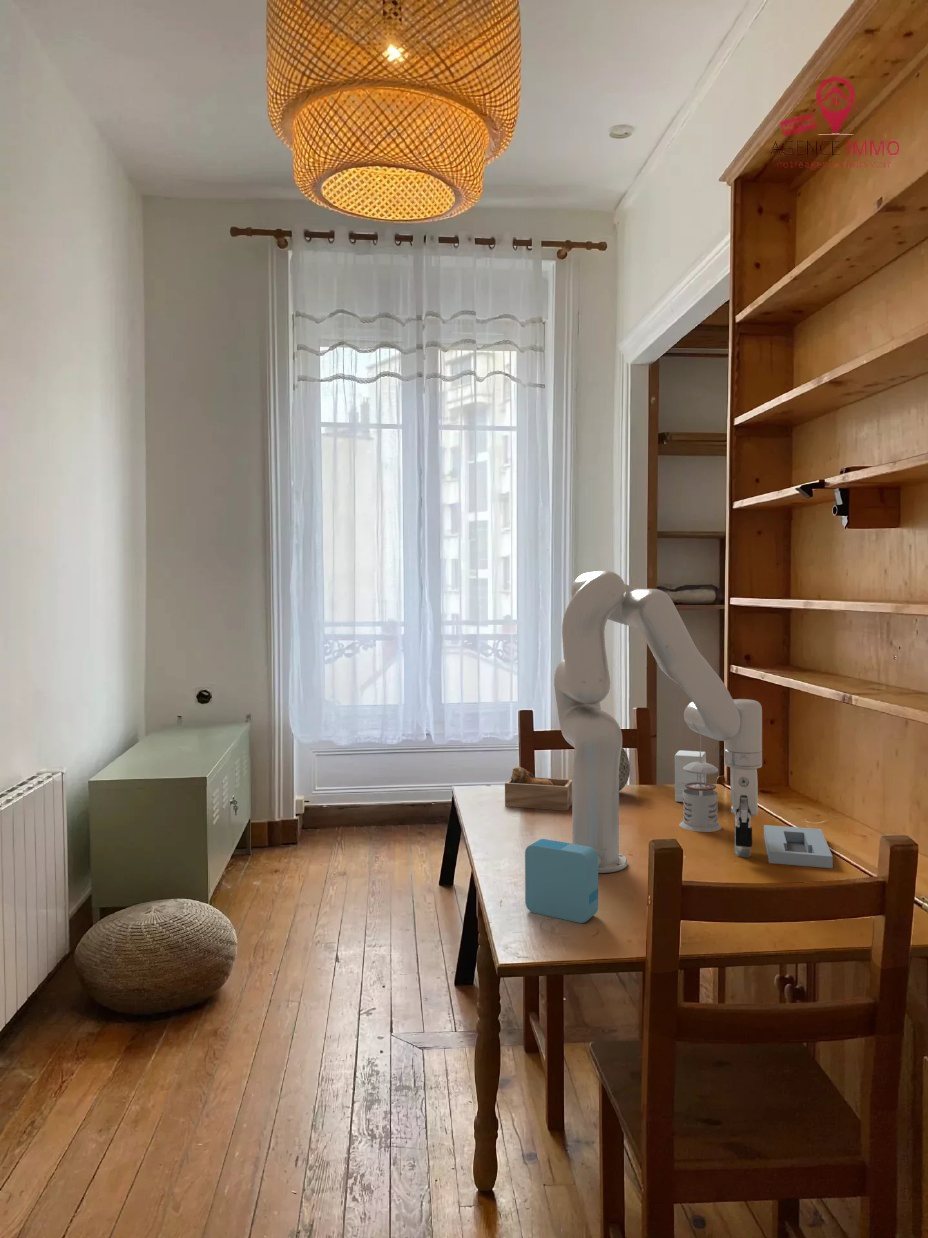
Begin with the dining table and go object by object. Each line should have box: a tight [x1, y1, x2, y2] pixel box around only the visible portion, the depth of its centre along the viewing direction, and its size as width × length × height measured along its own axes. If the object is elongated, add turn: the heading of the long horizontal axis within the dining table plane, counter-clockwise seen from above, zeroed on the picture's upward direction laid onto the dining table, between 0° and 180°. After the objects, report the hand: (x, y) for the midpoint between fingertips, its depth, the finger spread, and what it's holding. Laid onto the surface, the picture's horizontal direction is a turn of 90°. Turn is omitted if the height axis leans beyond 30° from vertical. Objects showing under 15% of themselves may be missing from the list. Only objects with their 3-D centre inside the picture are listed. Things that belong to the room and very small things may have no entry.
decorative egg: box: [619, 746, 631, 792], centre depth 229 cm, size 12×12×15 cm
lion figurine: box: [510, 766, 553, 786], centre depth 219 cm, size 15×5×9 cm, turn 62°
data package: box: [524, 838, 599, 924], centre depth 144 cm, size 12×4×12 cm, turn 58°
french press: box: [678, 734, 723, 833], centre depth 198 cm, size 10×12×25 cm
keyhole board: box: [763, 824, 834, 869], centre depth 178 cm, size 20×12×2 cm, turn 163°
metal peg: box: [730, 805, 753, 858], centre depth 175 cm, size 5×5×10 cm
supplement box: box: [674, 749, 707, 803], centre depth 222 cm, size 7×7×13 cm
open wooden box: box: [504, 776, 572, 811], centre depth 219 cm, size 9×16×6 cm, turn 73°
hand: (743, 839), depth 175 cm, fingers open, 9 cm apart
